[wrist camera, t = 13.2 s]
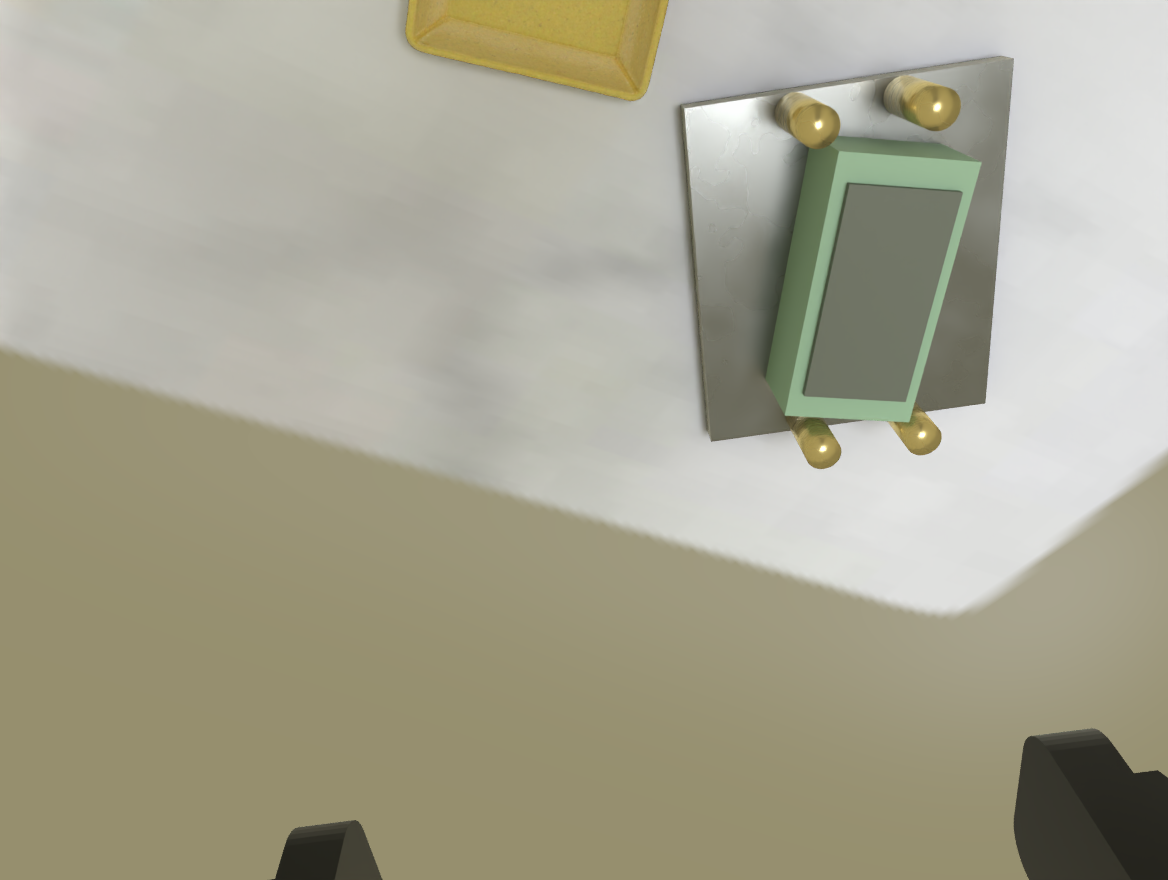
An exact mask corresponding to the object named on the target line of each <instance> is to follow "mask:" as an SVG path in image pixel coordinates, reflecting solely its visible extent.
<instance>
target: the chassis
mask: <svg viewBox="0 0 1168 880" xmlns="http://www.w3.org/2000/svg"><path fill="white" fill-rule="evenodd" d="M1013 63H1014V59H1013V58H1009V57H1004V56H998V57H992V58H985V59H979V60H972V61H965V62H959V63H952V64H946V65H939V66H932V67H926V68H919V69H913V70H906V71H900V72H893V73H886V74H880V75H873V76H867V77H860V78H853V79H847V80H840V81H834V82H827V83H820V84H814V85H807V86H801V87H794V88H788V89H781V90H774V91H768V92H761V93H755V94H748V95H741V96H735V97H728V98H722V99H715V100H708V101H702V102H695V103H689V104H682V105H681V114H682V126H683V138H684V151H685V163H686V175H687V187H688V199H689V211H690V223H691V236H692V248H693V260H694V272H695V284H696V296H697V308H698V321H699V333H700V345H701V357H702V369H703V381H704V393H705V405H706V418H707V430H708V434H709V437H710V439H711V442H712V441H719V440H726V439H733V438H741V437H748V436H755V435H762V434H769V433H776V432H783V431H792V433H793V435H794V437H795V438H796V440H797V442H798V444H799V446H800V448H801V450H802V452H803V454H804V456H805V457H806V459H807V461H808V463H809V464H810V465H811V466H812V467H814V468H817V469H825V468H829V467H831V466H833V465H834V464H835V463H836V462H837V461H838V460H839V458H840V456H841V447H840V445H839V443H838V442H837V440H836V439H835V437H834V435H833V434H832V432H831V430H830V429H829V427H828V425H834V424H841V423H848V422H855V421H862V420H857V419H838V418H820V417H802V416H785V415H784V413H783V411H782V409H781V407H780V406H779V404H778V402H777V400H776V398H775V396H774V394H773V392H772V390H771V389H770V387H769V385H768V383H767V381H766V379H765V378H766V373H767V368H768V362H769V357H770V352H771V346H772V341H773V336H774V331H775V325H776V320H777V315H778V310H779V304H780V299H781V294H782V289H783V283H784V278H785V273H786V268H787V262H788V257H789V252H790V246H791V241H792V236H793V231H794V225H795V220H796V215H797V210H798V204H799V199H800V194H801V189H802V183H803V178H804V173H805V168H806V162H807V157H808V152H809V148H812V149H822V148H825V147H827V146H829V145H830V144H831V143H833V142H834V141H835V139H836V138H837V136H847V137H860V138H873V139H885V140H898V141H911V142H924V143H937V144H943V145H945V146H948V147H950V148H952V149H954V150H956V151H958V152H961V153H963V154H965V155H967V156H969V157H972V158H974V159H976V160H978V161H980V162H982V163H981V167H980V170H979V174H978V177H977V181H976V185H975V188H974V192H973V195H972V199H971V203H970V206H969V210H968V213H967V217H966V220H965V224H964V228H963V231H962V235H961V238H960V242H959V246H958V249H957V253H956V256H955V260H954V263H953V267H952V271H951V274H950V278H949V281H948V285H947V289H946V292H945V296H944V299H943V303H942V306H941V310H940V314H939V317H938V321H937V324H936V328H935V332H934V335H933V339H932V342H931V346H930V349H929V353H928V357H927V360H926V364H925V367H924V371H923V375H922V378H921V382H920V385H919V389H918V392H917V396H916V400H915V403H914V407H913V410H912V414H911V418H910V421H909V422H893V421H887V422H888V423H889V424H890V426H891V427H892V428H893V430H894V431H895V432H896V434H897V435H898V436H899V438H900V439H901V440H902V442H903V443H904V444H905V446H906V447H907V448H908V450H909V451H910V452H911V453H913V454H916V455H926V454H929V453H931V452H932V451H934V450H935V449H936V448H937V447H938V446H939V444H940V442H941V432H940V430H939V429H938V427H937V426H936V425H935V424H934V423H933V422H932V420H931V419H930V418H929V417H928V416H927V414H926V413H925V412H927V411H934V410H941V409H948V408H955V407H962V406H969V405H977V404H984V403H985V400H986V388H987V376H988V364H989V352H990V340H991V328H992V316H993V304H994V292H995V280H996V268H997V256H998V244H999V232H1000V219H1001V207H1002V195H1003V183H1004V171H1005V159H1006V147H1007V135H1008V123H1009V111H1010V99H1011V87H1012V75H1013Z"/></svg>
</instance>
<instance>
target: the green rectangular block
mask: <svg viewBox="0 0 1168 880" xmlns="http://www.w3.org/2000/svg"><path fill="white" fill-rule="evenodd" d="M981 163H982V162H980V161H978V160H976V159H974V158H972V157H969V156H967V155H965V154H963V153H961V152H958V151H956V150H954V149H952V148H950V147H948V146H945V145H943V144H937V143H924V142H911V141H898V140H885V139H873V138H860V137H847V136H837V138H836V139H835V141H834V142H833V143H831V144H830V145H829V146H827V147H825V148H822V149H812V148H809V152H808V157H807V162H806V168H805V173H804V178H803V183H802V189H801V194H800V199H799V204H798V210H797V215H796V220H795V225H794V231H793V236H792V241H791V246H790V252H789V257H788V262H787V268H786V273H785V278H784V283H783V289H782V294H781V299H780V304H779V310H778V315H777V320H776V325H775V331H774V336H773V341H772V346H771V352H770V357H769V362H768V368H767V373H766V378H765V379H766V381H767V383H768V385H769V387H770V389H771V390H772V392H773V394H774V396H775V398H776V400H777V402H778V404H779V406H780V407H781V409H782V411H783V413H784V415H785V416H802V417H820V418H838V419H857V420H875V421H893V422H909V421H910V418H911V414H912V410H913V407H914V403H915V400H916V396H917V392H918V389H919V385H920V382H921V378H922V375H923V371H924V367H925V364H926V360H927V357H928V353H929V349H930V346H931V342H932V339H933V335H934V332H935V328H936V324H937V321H938V317H939V314H940V310H941V306H942V303H943V299H944V296H945V292H946V289H947V285H948V281H949V278H950V274H951V271H952V267H953V263H954V260H955V256H956V253H957V249H958V246H959V242H960V238H961V235H962V231H963V228H964V224H965V220H966V217H967V213H968V210H969V206H970V203H971V199H972V195H973V192H974V188H975V185H976V181H977V177H978V174H979V170H980V167H981Z"/></svg>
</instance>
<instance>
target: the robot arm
mask: <svg viewBox="0 0 1168 880" xmlns="http://www.w3.org/2000/svg"><path fill="white" fill-rule="evenodd" d="M1014 833H1015V840H1016V844H1017V848H1018V852H1019V855H1020V859H1021V862H1022V864H1023V867H1024V869H1025V872H1026V874H1027V876H1028V878H1029V880H1168V778H1167V777H1166V776H1165V775H1163V774H1162V773H1161V772H1159V771H1158V770H1157V771H1149V772H1141V773H1133V772H1132V770H1131V769H1130V768H1129V766H1128V765H1127V763H1126V762H1125V761H1124V759H1123V758H1122V757H1121V755H1120V754H1119V753H1118V751H1117V750H1116V748H1115V747H1114V746H1113V744H1112V743H1111V742H1110V740H1109V739H1108V738H1107V737H1106V736H1105V735H1104V734H1103V733H1102V732H1100V731H1099V730H1096V729H1084V730H1076V731H1068V732H1061V733H1052V734H1044V735H1037V736H1030V737H1028V738H1027V739H1026V741H1025V743H1024V747H1023V754H1022V762H1021V769H1020V777H1019V784H1018V792H1017V799H1016V807H1015V815H1014ZM272 880H382V878H381V875H380V872H379V870H378V867H377V865H376V862H375V859H374V857H373V854H372V852H371V849H370V846H369V843H368V841H367V838H366V836H365V833H364V830H363V828H362V826H361V824H360V823H359V822H358V821H356V820H354V821H346V822H338V823H330V824H322V825H315V826H306V827H298V828H295V829H294V830H293V831H292V832H291V833H290V835H289V837H288V839H287V841H286V844H285V847H284V850H283V854H282V857H281V861H280V864H279V868H278V871H277V874H276V878H275V879H272Z"/></svg>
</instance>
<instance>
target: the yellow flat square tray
mask: <svg viewBox="0 0 1168 880" xmlns="http://www.w3.org/2000/svg"><path fill="white" fill-rule="evenodd" d="M668 1H669V0H409V6H408V14H407V22H406V28H405V29H406V32H405V34H406V37H407V40H408V42H409V44H410V45H411V46H412V47H413V48H415V49H416V50H418V51H421V52H424V53H428V54H433V55H437V56H441V57H445V58H449V59H454V60H458V61H463V62H467V63H472V64H476V65H481V66H485V67H489V68H493V69H497V70H503V71H506V72H511V73H517V74H521V75H525V76H529V77H532V78H537V79H541V80H545V81H550V82H554V83H558V84H563V85H567V86H571V87H576V88H579V89H583V90H588V91H592V92H597V93H600V94H604V95H608V96H613V97H618V98H621V99H624V100H628V101H635V100H638V99H640V98H641V97H643V96H644V94H645V93H646V91H647V88H648V85H649V82H650V77H651V73H652V69H653V65H654V61H655V56H656V52H657V48H658V43H659V40H660V36H661V31H662V28H663V23H664V19H665V15H666V10H667V6H668Z"/></svg>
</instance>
